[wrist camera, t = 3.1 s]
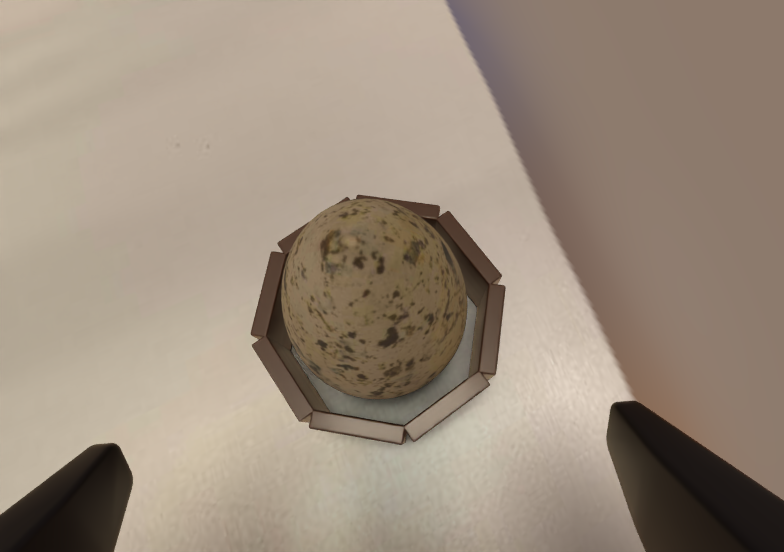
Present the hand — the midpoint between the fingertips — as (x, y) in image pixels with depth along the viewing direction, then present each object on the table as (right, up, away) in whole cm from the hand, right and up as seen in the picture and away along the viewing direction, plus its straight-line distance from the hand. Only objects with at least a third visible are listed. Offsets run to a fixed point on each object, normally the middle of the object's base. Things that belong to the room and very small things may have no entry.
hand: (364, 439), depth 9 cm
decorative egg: (0, +1, +12) cm, 12 cm away
